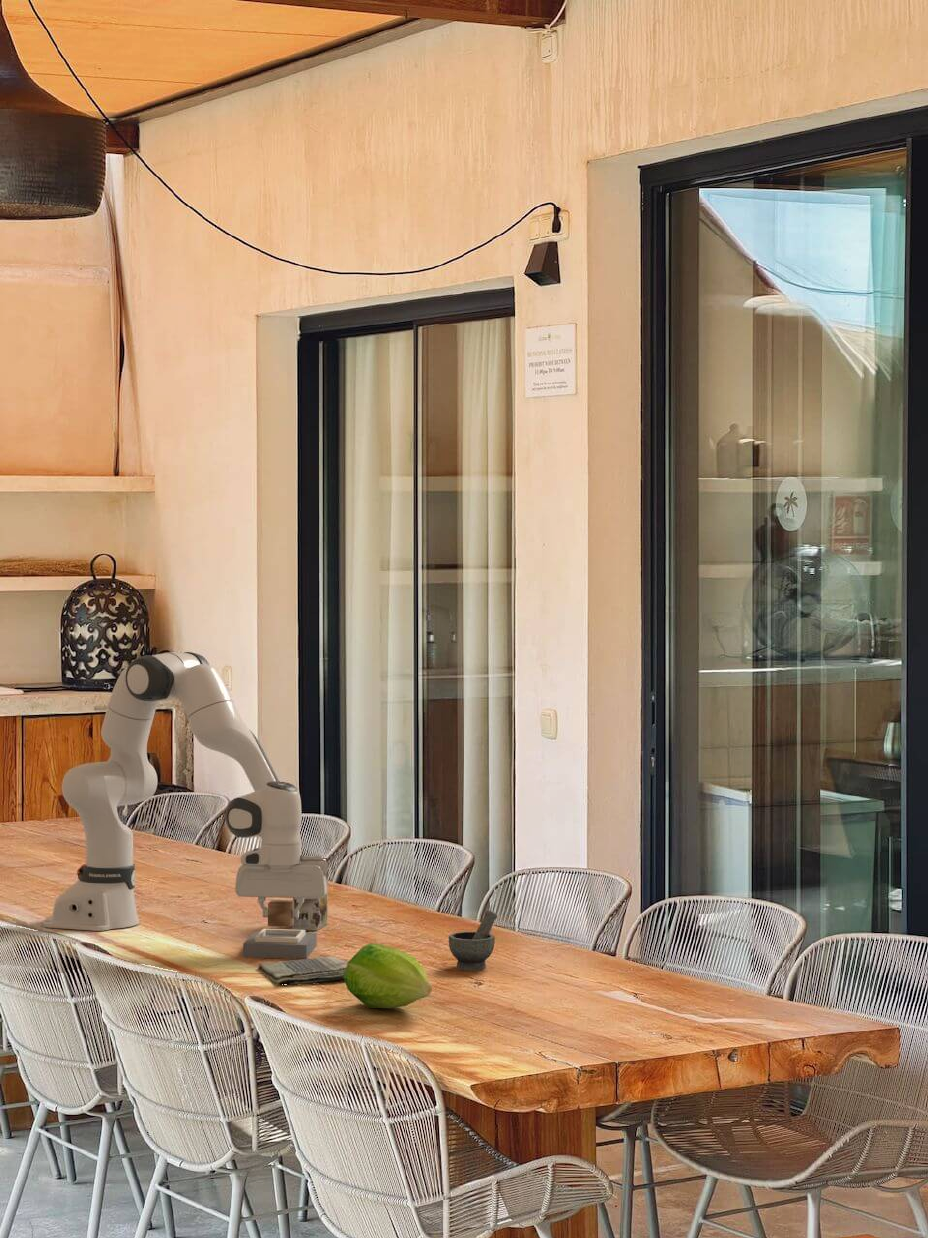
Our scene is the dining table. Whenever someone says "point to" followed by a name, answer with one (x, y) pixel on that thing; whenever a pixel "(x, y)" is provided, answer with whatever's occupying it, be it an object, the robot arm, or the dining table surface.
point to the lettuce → (386, 977)
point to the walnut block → (280, 913)
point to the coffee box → (312, 912)
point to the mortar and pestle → (474, 945)
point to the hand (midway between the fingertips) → (280, 917)
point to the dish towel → (305, 971)
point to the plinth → (280, 944)
